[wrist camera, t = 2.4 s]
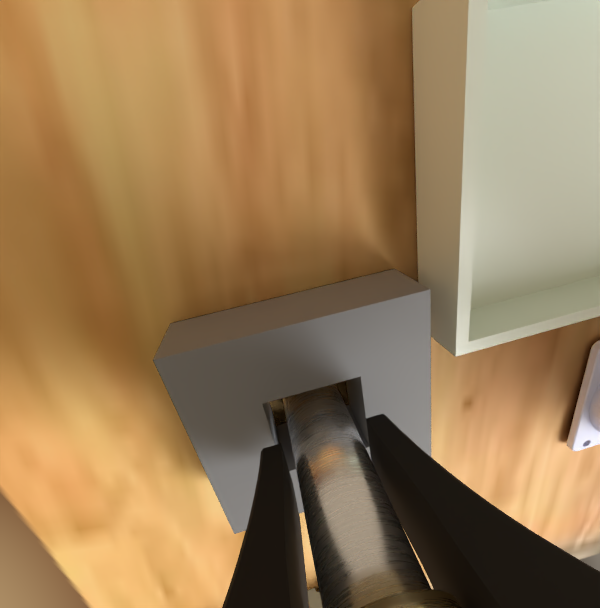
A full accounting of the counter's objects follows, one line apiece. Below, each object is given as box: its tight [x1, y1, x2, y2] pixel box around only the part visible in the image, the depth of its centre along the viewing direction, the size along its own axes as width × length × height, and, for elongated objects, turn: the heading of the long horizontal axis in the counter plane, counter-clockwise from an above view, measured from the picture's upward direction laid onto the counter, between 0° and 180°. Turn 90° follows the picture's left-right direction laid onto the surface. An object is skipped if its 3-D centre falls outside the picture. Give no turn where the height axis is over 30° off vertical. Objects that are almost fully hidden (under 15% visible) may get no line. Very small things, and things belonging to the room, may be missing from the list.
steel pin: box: [282, 383, 462, 608], centre depth 9 cm, size 3×3×9 cm
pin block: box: [153, 269, 431, 534], centre depth 12 cm, size 9×9×2 cm
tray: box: [412, 0, 600, 357], centre depth 11 cm, size 11×11×2 cm
